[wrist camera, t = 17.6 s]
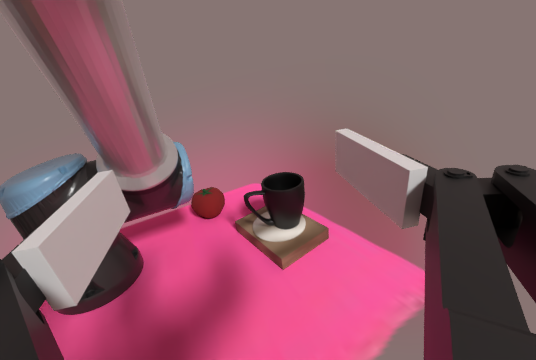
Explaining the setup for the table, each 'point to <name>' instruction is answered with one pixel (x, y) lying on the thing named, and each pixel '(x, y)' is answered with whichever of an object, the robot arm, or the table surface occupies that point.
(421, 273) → the table surface
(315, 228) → the wooden coaster block
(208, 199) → the tomato
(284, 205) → the mug
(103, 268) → the robot arm
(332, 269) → the table surface
